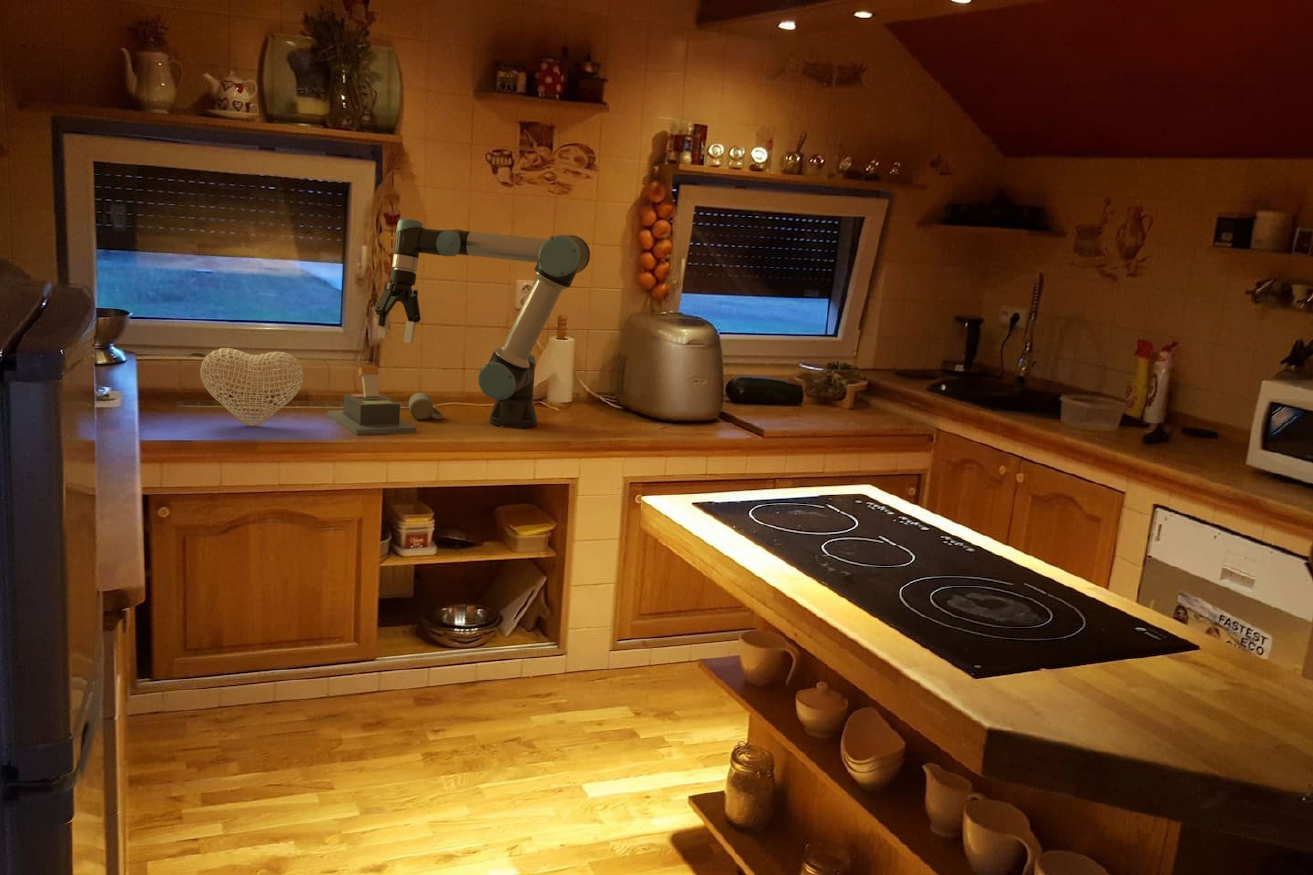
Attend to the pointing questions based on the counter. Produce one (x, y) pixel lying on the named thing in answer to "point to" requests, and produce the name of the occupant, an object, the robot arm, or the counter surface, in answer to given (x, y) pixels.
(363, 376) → the breaker lever
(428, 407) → the ceramic mug
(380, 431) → the breaker box
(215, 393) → the heart
